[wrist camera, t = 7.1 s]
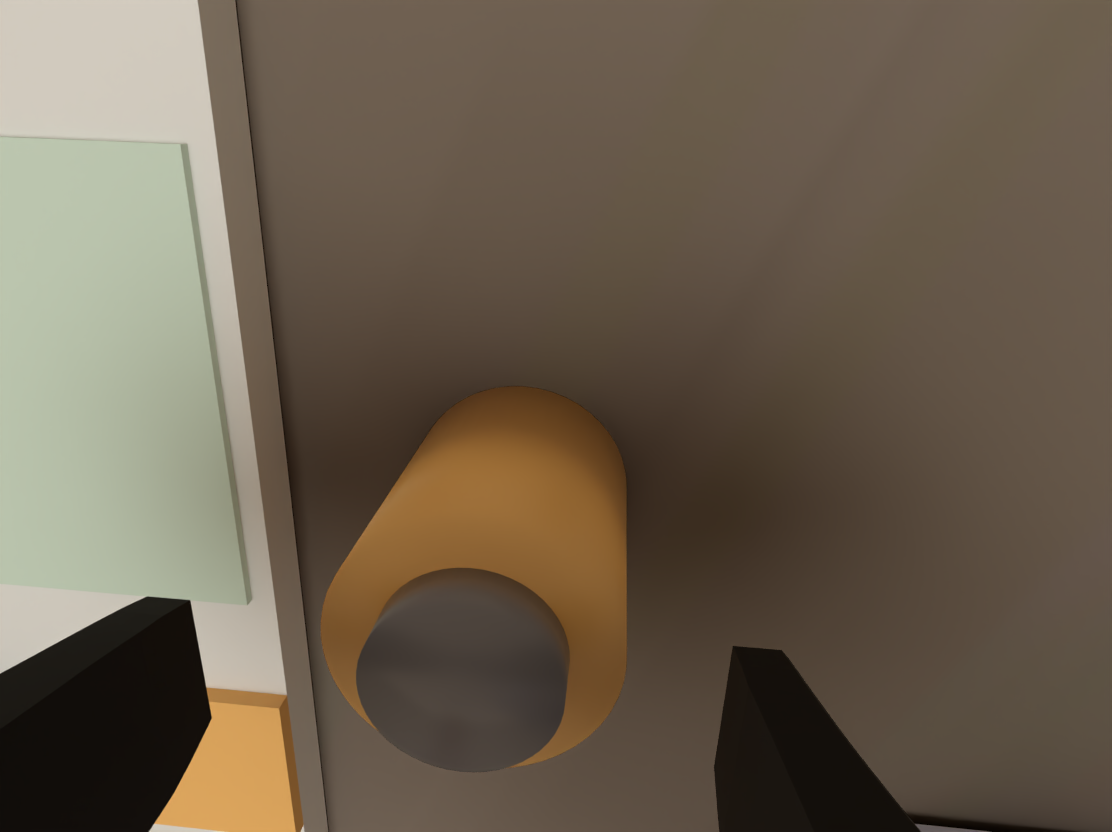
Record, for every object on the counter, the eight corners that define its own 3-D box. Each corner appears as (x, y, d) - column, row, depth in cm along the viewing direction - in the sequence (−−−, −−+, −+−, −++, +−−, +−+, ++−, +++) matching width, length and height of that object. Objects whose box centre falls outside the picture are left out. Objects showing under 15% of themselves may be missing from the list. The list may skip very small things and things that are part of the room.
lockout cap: (618, 583, 16) (614, 829, 10) (420, 566, 16) (312, 797, 11) (634, 393, 14) (640, 563, 9) (413, 379, 14) (280, 534, 9)
